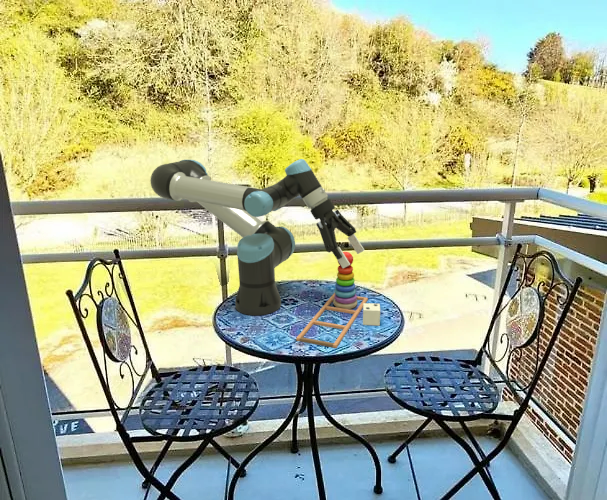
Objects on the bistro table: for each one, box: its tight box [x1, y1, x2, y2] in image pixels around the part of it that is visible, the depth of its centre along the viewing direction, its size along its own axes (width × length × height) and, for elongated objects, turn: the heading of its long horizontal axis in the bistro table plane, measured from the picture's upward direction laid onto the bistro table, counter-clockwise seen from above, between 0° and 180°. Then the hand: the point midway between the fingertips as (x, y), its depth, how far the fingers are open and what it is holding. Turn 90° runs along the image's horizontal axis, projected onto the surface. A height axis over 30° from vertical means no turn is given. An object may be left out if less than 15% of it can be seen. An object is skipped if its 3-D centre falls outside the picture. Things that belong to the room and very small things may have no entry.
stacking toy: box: [332, 251, 358, 310], centre depth 150 cm, size 8×8×19 cm
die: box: [362, 302, 381, 326], centre depth 141 cm, size 5×5×5 cm
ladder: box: [295, 292, 369, 349], centre depth 143 cm, size 12×34×1 cm, turn 158°
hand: (354, 259), depth 149 cm, fingers open, 13 cm apart
